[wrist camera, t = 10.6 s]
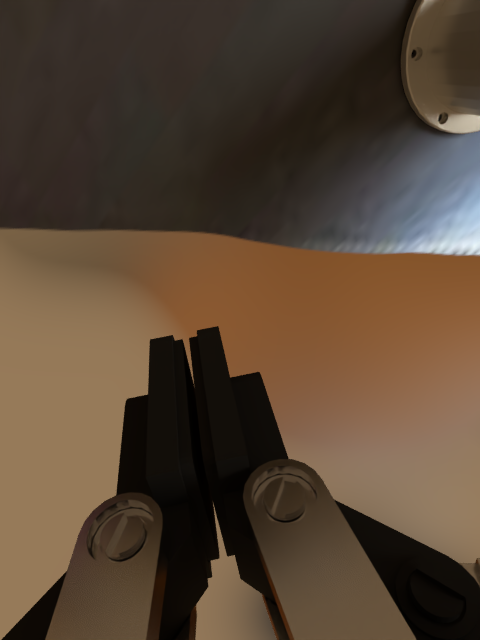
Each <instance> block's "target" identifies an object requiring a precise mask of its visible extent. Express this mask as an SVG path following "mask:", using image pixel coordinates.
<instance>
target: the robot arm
mask: <svg viewBox="0 0 480 640" xmlns="http://www.w3.org/2000/svg"><path fill="white" fill-rule="evenodd" d="M412 51H413V53H414V54H413V56H412V57H411V54H412ZM401 78H402V83H403V87H404V91H405V95H406V97H407V99H408V101H409V104H410V106H411V108H412V109H413V110H414V112H415V113H416V114H417V116H418V117H419V118H420V119H421V120H423V121H424V122H425V123H426V124H428V125H429V126H431V127H433V128H435V129H438V130H440V131H445V132H449V133H456V134H467V133H473V132H478V131H480V0H417V1H416V3H415V5H414V8H413V10H412V13H411V15H410V17H409V20H408V23H407V26H406V30H405V34H404V38H403V43H402V52H401ZM438 117H439V119H438ZM189 342H190V351H191V360H192V368H193V378H194V384H193V380H192V376H191V372H190V368H189V363H188V359H187V355H186V351H185V347H184V343H183V340H182V339H181V340H177V341H175V340H174V337H173V335H171V336H166V337H161V338H156V339H151V340H150V353H149V354H150V355H149V385H148V395H144V396H139V397H135V398H129V399H127V400H126V404H125V412H124V422H123V432H122V443H121V453H120V463H119V473H118V484H117V494H116V496H114V497H112V498H110V499H108V500H106V501H104V502H103V503H102V504H101V505H100V506H98V507H97V508H96V509H95V510H94V511H93V512H92V513H91V514H90V515H89V517H88V518H87V519H86V521H85V522H84V524H83V526H82V528H81V531H80V533H79V535H78V538H77V542H76V545H75V548H74V551H73V554H72V558H71V560H70V564H69V567H68V570H67V571H66V573H64V575H63V576H62V577H61V578H60V579H59V580H58V581H57V582H56V583H55V584H54V585H53V586H52V587H51V588H50V589H49V590H48V591H47V592H46V594H45V595H44V596H43V597H42V598H41V599H40V600H39V601H38V602H37V603H36V604H35V605H34V606H33V607H32V608H31V609H30V611H28V612H27V613H26V614H25V616H24V617H23V618H22V619H21V620H20V621H19V622H18V623H17V624H16V625H15V626H14V627H13V628H12V629H11V630H10V631H9V632H8V633H7V634H6V636H5V637H4V638H3V639H2V640H195V637H196V621H197V611H196V604H197V602H198V601H199V599H200V598H201V596H202V595H203V594H204V592H205V591H206V589H207V588H208V579H207V578H211V577H212V571H211V562H210V561H211V560H215V559H219V548H218V539H217V531H216V524H215V515H214V507H215V511H216V515H217V519H218V522H219V526H220V530H221V534H222V537H223V541H224V546H225V549H226V553H227V556H231V555H235V557H236V562H237V566H238V570H239V574H240V578H241V579H242V580H243V581H244V582H246V583H247V584H249V585H250V586H252V587H253V588H255V589H256V590H258V591H259V592H260V593H262V597H263V601H264V603H265V607H266V610H267V612H268V615H269V618H270V621H271V624H272V627H273V630H274V633H275V636H276V638H277V640H480V558H477V560H476V563H457V562H456V561H454V560H453V559H451V558H449V557H448V556H446V555H445V554H442V553H440V552H438V551H436V550H434V549H432V548H430V547H428V546H426V545H424V544H422V543H420V542H418V541H416V540H414V539H412V538H410V537H408V536H406V535H404V534H402V533H400V532H398V531H396V530H394V529H392V528H390V527H388V526H386V525H384V524H382V523H380V522H378V521H376V520H374V519H372V518H370V517H368V516H366V515H364V514H362V513H360V512H358V511H356V510H354V509H352V508H350V507H348V506H346V505H344V504H342V503H340V502H338V501H336V500H334V499H333V497H332V496H331V494H330V492H329V490H328V489H327V487H326V485H325V484H324V482H323V480H322V479H321V478H320V476H319V475H318V474H317V473H316V471H315V470H314V469H312V468H311V467H309V466H308V465H306V464H305V463H302V462H299V461H296V460H292V459H288V456H287V453H286V450H285V447H284V444H283V441H282V438H281V435H280V432H279V428H278V426H277V422H276V420H275V416H274V413H273V410H272V407H271V404H270V401H269V398H268V395H267V392H266V389H265V386H264V383H263V380H262V377H261V374H260V372H256V373H251V374H246V375H241V376H237V377H231V378H230V375H229V371H228V367H227V362H226V358H225V354H224V349H223V345H222V341H221V336H220V332H219V328H218V326H217V327H212V328H207V329H202V330H197V336H196V337H191V338H189ZM194 387H195V388H194ZM213 503H214V507H213Z"/></svg>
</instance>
